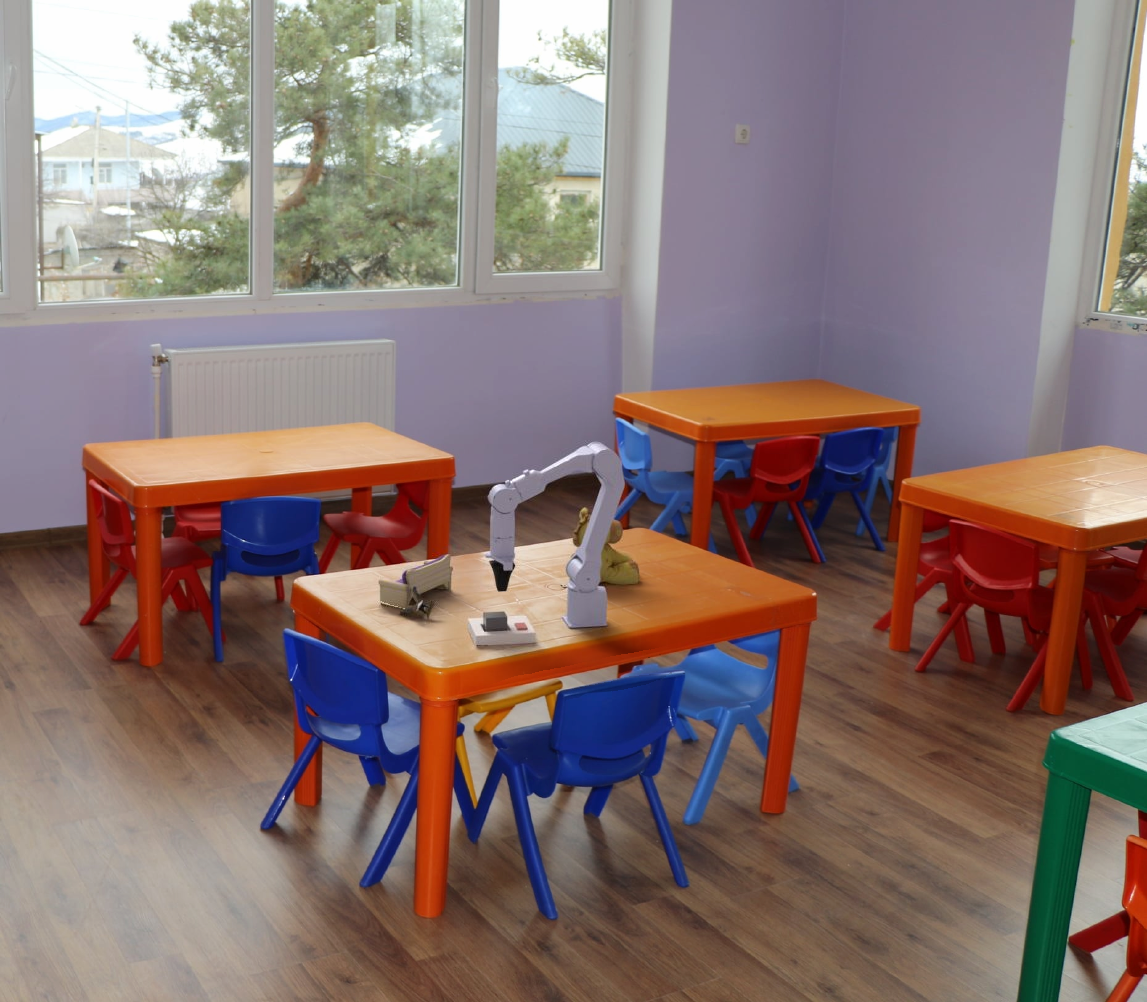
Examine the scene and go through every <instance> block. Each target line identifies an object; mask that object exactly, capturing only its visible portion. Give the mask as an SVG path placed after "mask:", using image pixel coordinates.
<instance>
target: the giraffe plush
mask: <svg viewBox="0 0 1147 1002" xmlns="http://www.w3.org/2000/svg"><path fill="white" fill-rule="evenodd" d="M588 513H589V509H588V508H587V507H583V508H581V510H580V511H579V521H578V522H577V527H576V528H575V530H573V532H572V535H573V538H572V544H573V545H574V547H576V548H579V547H580V546H581V543H582V541H583V538H584V535H585V532H586V529H587V526H588V523H589V520H590V518H591V515H592V514H588ZM623 532H624V529H623V525H622V523H621V522H620V521H619V520H616V519H615V518H613V521H612V524H611V527H610V529H609V532H608V535H607V538H606V541H605V544H604V546H603V549H602V552H601V561H602V566H601V569H600V583H604V582H605V583H608V584H612V585H617V586H619V585H623V586H624V585H625V586H627V585H636V584H639V582H640V569H639V564H638V563H637V562H636V561H634V560H633V559H634V558H632V557H631V555H629V554H628V553H625V552H621V551H618V550H616V549H614V548H613V547H612V546H611V545H612V544H613V545H614V544H617V543H619V542H620V541H621V540H622V537H623ZM573 555H574V553H572V554H571V556H570V559H571V558H572V557H573ZM600 583H599V584H600ZM599 584H598V586H601V585H599ZM562 585H563V586H561V588H568V586H566V585H568V583H565V584H562Z"/></svg>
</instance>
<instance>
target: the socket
mask: <svg viewBox="0 0 1147 1002" xmlns="http://www.w3.org/2000/svg"><path fill="white" fill-rule="evenodd" d="M467 630H468V632H469V634H471V635H470V636H471V639H472V638H473V639H472V641H473V643H474V645H482V646H481V647H484V646H483V645H488V646H502V645H504V646H505V645H519V644H520V645H521V644H535V643H536V634H537V633H536V631H535V628H533V626H532V624H531V622H530V620H529V619H528V617H527V616H526V615H512V616H510V615H509V616H508V615H507V631H492V632H484V631H483V617H474V618H473V617H472V618H471V617H468V618H467Z"/></svg>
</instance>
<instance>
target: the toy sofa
mask: <svg viewBox="0 0 1147 1002" xmlns="http://www.w3.org/2000/svg"><path fill="white" fill-rule="evenodd" d="M451 559H452V558H451V554H447V553H446V554H443V555H441V556H439V557H438V558H436V559H433V560H427V559H425V560H424V561H423V565H419V566H417V567H413V568H409V569H405V570H404V571H403V573H402V575H401V579H398V580H395V581H393V580H389V579H384V578H379V580H378V585H379V600H380V601H382V602H384V603H388V604H390V605H394V606H398V607H401V608H406V607H407V606H410V603H411V600H412V598H413V592H412V591H413V587H414V586H415V587H417V588H416V589H417V592H418V593H419V594H420V595H421V594H423V593H426V592H427V591H430V590H432V589H434V588H435V587H437V588H436V589H440V588H442V589H441V590H444V589H446V591H451V590H452V575H453V573H452V572H453V571H454V567H453V565H451ZM380 601H379V602H380ZM401 608H400V609H401Z"/></svg>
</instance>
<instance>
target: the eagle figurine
mask: <svg viewBox="0 0 1147 1002" xmlns="http://www.w3.org/2000/svg"><path fill="white" fill-rule="evenodd" d="M416 588H417V587H415V586H414V587H413V591H412V592H413V597H412V598H413V600H414V601H415V602H416V603H415V604H414V605H409V606H407V607H406V608H405V609H401V611H399V614H404V613H408V614H411V613H413V612H415V611H416V612H417V611H420V612H421V613H422V614H425V615H426V619H427V618H430V615H431V612H432V610H433V608H435V606H436V605H437V604H438V603H439V602H440V598H438V599H437V600H436V601H435V602H434V600H432V599H430V601H429V604H425V603H423V601H424V600H423V599H422V595H421V594H419V593H418V592H417V589H416ZM425 609H426V610H425Z"/></svg>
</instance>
